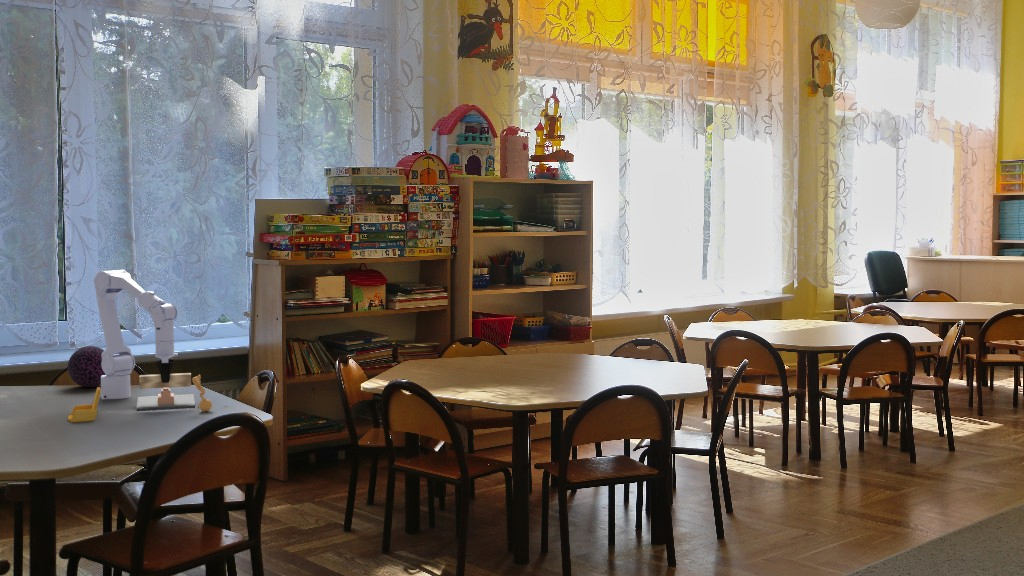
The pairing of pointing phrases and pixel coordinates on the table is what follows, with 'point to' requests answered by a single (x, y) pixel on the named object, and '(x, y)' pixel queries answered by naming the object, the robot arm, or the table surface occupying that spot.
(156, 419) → the table surface
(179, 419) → the table surface
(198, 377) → the figurine
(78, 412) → the yellow toy chair
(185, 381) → the pine batten
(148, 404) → the board
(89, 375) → the toy ball
